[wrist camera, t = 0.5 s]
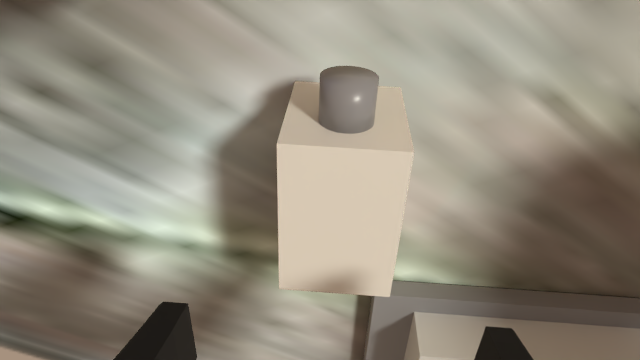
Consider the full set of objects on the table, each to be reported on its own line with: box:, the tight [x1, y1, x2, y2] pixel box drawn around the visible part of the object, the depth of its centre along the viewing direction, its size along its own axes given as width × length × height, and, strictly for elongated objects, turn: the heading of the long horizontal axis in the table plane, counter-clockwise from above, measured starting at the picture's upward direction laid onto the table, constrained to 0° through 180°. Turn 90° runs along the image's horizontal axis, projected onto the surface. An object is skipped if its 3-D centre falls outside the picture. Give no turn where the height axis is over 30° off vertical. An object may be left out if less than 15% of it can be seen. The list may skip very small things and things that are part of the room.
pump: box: [277, 66, 414, 297], centre depth 17 cm, size 4×8×5 cm, turn 178°
